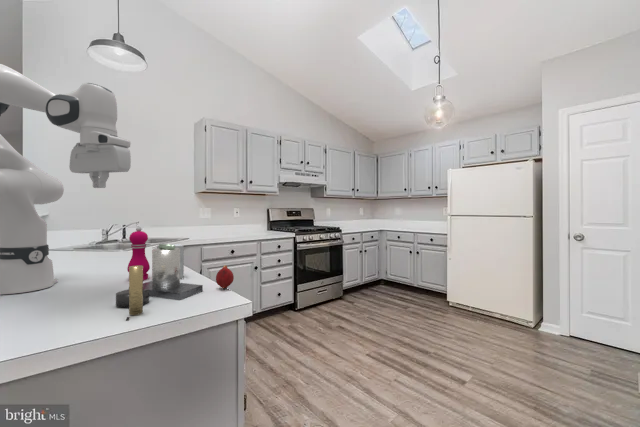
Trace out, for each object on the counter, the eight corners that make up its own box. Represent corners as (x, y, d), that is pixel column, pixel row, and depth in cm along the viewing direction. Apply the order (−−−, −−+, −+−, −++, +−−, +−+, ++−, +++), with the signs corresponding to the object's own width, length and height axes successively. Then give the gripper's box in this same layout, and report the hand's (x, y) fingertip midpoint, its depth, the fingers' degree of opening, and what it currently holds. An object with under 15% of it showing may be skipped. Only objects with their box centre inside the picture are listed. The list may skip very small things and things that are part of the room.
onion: (230, 291, 98) (230, 267, 98) (213, 291, 98) (213, 267, 98) (235, 286, 104) (235, 263, 103) (219, 286, 104) (219, 263, 103)
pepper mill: (145, 276, 117) (145, 226, 117) (152, 279, 112) (152, 227, 112) (124, 279, 111) (124, 226, 111) (131, 283, 107) (131, 227, 106)
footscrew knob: (117, 317, 72) (117, 269, 72) (115, 301, 85) (115, 259, 85) (154, 311, 77) (154, 265, 77) (147, 296, 90) (147, 257, 89)
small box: (178, 275, 119) (178, 243, 119) (183, 278, 114) (184, 245, 114) (156, 278, 113) (156, 245, 113) (160, 282, 109) (161, 246, 108)
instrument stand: (68, 311, 77) (68, 252, 77) (154, 285, 103) (154, 241, 103) (127, 320, 71) (127, 256, 71) (202, 291, 97) (203, 244, 97)
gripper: (62, 140, 87) (62, 187, 87) (114, 136, 81) (114, 186, 81) (85, 145, 93) (85, 188, 93) (134, 141, 87) (134, 188, 87)
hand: (99, 187), depth 87 cm, fingers closed
